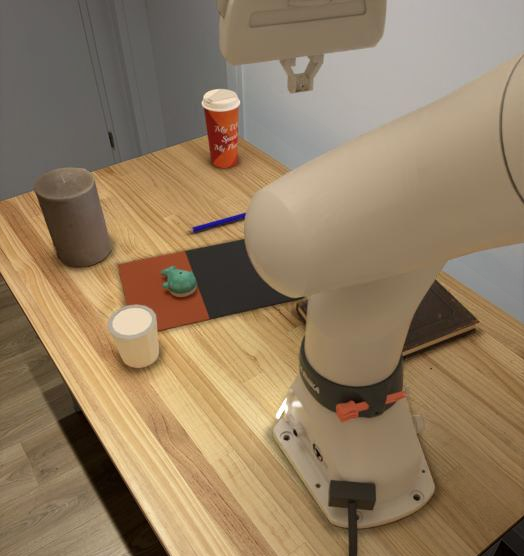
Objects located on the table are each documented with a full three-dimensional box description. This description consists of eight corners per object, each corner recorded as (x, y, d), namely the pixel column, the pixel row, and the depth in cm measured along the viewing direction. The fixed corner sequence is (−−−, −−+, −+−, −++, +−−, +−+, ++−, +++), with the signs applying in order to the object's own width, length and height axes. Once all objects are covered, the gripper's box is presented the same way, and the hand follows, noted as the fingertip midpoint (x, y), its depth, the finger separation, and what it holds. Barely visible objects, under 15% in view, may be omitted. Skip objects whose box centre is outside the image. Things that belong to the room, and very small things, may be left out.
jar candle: (122, 376, 80) (112, 344, 75) (113, 344, 84) (102, 311, 79) (168, 363, 81) (162, 330, 76) (156, 332, 86) (149, 298, 80)
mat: (304, 297, 91) (304, 297, 91) (134, 336, 85) (133, 335, 85) (269, 234, 102) (269, 233, 102) (117, 265, 97) (117, 264, 96)
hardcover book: (475, 331, 85) (479, 320, 84) (347, 381, 79) (349, 371, 77) (414, 271, 95) (416, 260, 93) (295, 311, 89) (296, 301, 87)
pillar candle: (46, 260, 97) (17, 185, 86) (77, 229, 103) (54, 155, 92) (93, 273, 95) (70, 197, 84) (122, 240, 101) (104, 165, 90)
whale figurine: (174, 305, 89) (171, 287, 87) (153, 280, 93) (149, 263, 91) (205, 291, 92) (203, 273, 89) (183, 268, 96) (181, 250, 93)
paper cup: (222, 174, 116) (217, 108, 106) (199, 160, 120) (193, 95, 109) (249, 161, 120) (248, 96, 109) (227, 148, 123) (223, 84, 113)
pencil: (268, 209, 107) (268, 204, 107) (270, 211, 107) (270, 207, 106) (186, 232, 102) (186, 227, 102) (188, 234, 102) (187, 230, 101)
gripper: (222, -20, 57) (228, 112, 67) (401, -38, 61) (381, 90, 71) (207, -36, 61) (215, 91, 71) (376, -52, 65) (361, 71, 75)
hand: (300, 90), depth 71 cm, fingers closed
